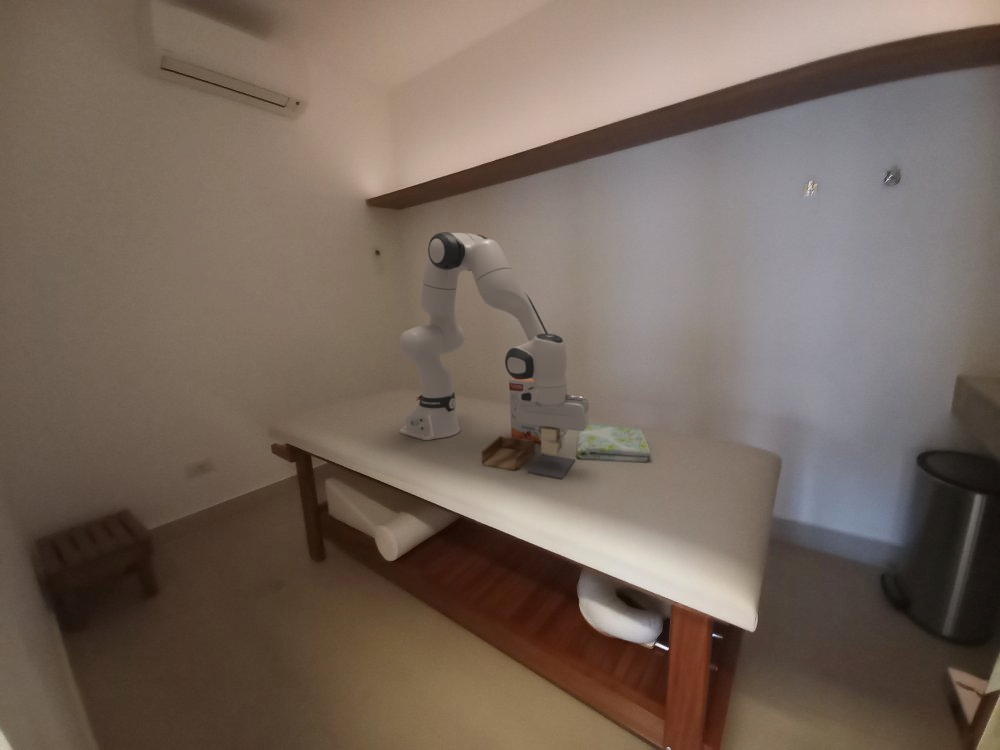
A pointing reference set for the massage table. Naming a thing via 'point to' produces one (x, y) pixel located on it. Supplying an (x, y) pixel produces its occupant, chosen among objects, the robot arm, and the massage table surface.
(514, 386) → the cracker box
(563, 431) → the robot arm
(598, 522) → the massage table surface
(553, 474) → the mat
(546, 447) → the block
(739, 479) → the massage table surface
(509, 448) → the shelf bay
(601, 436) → the towel
